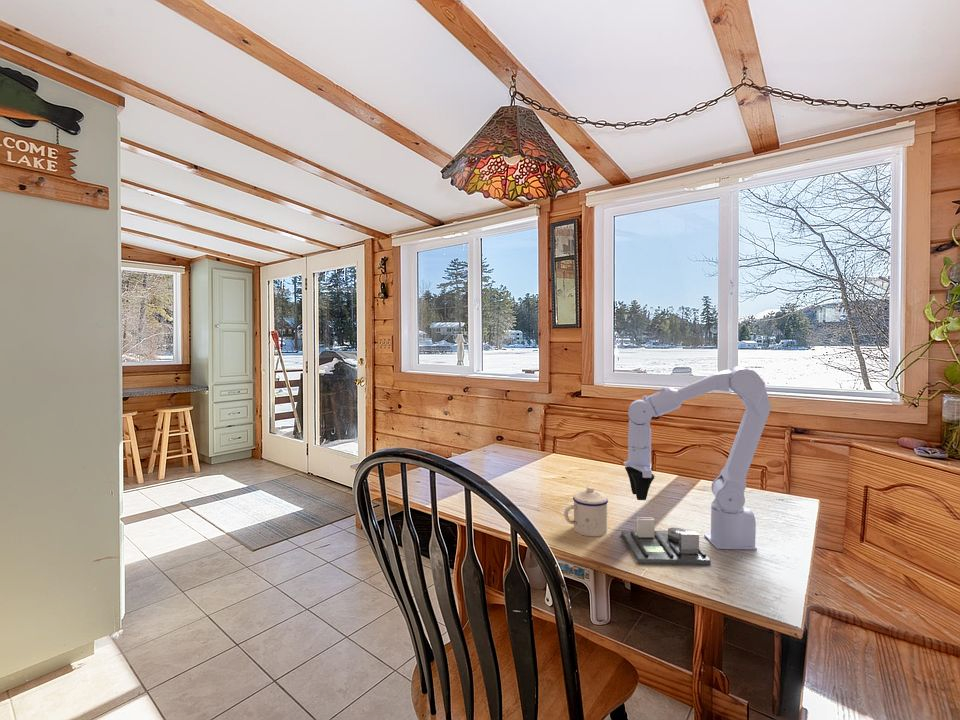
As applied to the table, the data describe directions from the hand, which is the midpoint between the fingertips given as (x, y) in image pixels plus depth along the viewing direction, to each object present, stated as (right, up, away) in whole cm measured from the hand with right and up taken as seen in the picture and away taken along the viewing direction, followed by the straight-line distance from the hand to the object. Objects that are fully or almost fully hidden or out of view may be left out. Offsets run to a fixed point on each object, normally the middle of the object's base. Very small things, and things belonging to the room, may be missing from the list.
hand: (639, 496), depth 125 cm
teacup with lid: (-14, -10, +1) cm, 17 cm away
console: (+2, -10, -10) cm, 14 cm away
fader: (0, -8, -6) cm, 10 cm away
